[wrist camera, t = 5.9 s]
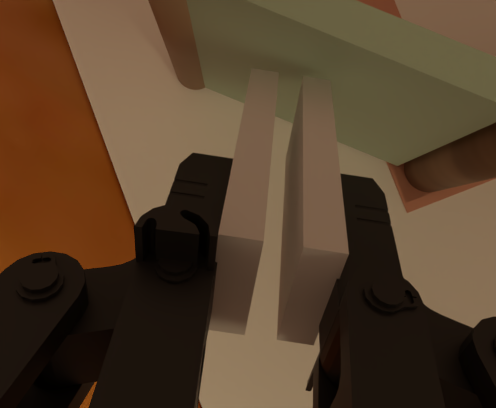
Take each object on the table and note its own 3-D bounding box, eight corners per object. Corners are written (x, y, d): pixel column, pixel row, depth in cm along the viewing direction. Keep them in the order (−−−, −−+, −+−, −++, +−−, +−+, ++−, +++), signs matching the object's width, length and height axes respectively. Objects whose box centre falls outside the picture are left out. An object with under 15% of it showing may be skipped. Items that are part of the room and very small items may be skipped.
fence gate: (408, 136, 19) (538, 60, 11) (394, 172, 18) (515, 123, 10) (185, 45, 19) (145, -100, 11) (169, 80, 18) (118, -38, 10)
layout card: (568, -218, 21) (576, -229, 20) (775, 236, 19) (788, 237, 19) (41, -36, 20) (36, -43, 19) (224, 461, 18) (223, 467, 18)
